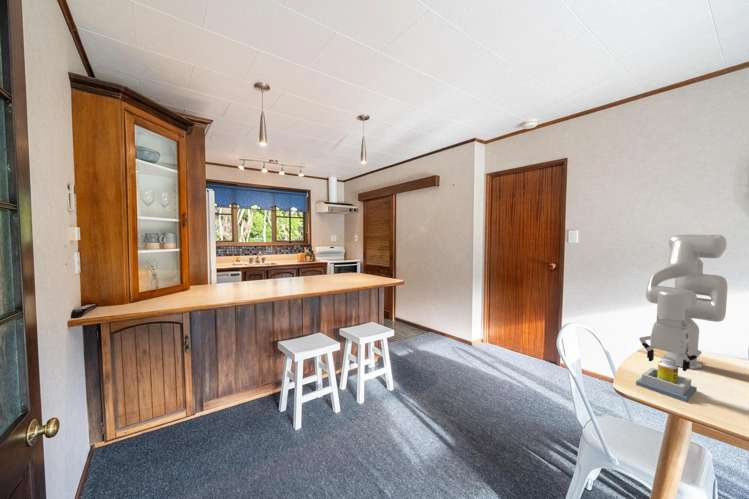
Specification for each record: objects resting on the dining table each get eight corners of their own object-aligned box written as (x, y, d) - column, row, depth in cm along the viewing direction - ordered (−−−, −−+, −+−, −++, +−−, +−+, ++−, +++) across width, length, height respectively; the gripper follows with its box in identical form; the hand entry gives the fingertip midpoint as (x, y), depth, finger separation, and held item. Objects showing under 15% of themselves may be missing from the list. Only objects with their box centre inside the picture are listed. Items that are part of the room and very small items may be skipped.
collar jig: (648, 375, 124) (648, 365, 123) (696, 391, 112) (697, 379, 112) (636, 384, 116) (636, 373, 116) (686, 402, 104) (687, 390, 104)
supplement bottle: (675, 389, 110) (676, 363, 109) (655, 383, 115) (656, 358, 114) (678, 385, 113) (680, 359, 112) (659, 379, 118) (660, 354, 117)
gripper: (705, 326, 107) (702, 371, 108) (644, 315, 122) (642, 354, 123) (700, 330, 103) (697, 377, 105) (637, 318, 118) (635, 359, 119)
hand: (667, 365), depth 114 cm, fingers open, 9 cm apart
